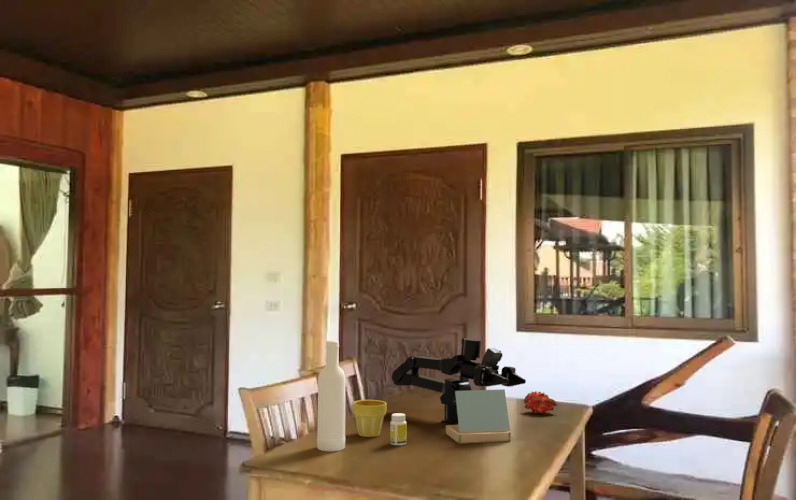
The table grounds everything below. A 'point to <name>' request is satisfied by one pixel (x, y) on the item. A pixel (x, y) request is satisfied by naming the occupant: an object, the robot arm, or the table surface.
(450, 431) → the wooden tray
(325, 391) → the bottle
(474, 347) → the robot arm
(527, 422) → the table surface
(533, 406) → the dragon fruit
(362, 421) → the plant pot
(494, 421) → the lid
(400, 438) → the supplement bottle
